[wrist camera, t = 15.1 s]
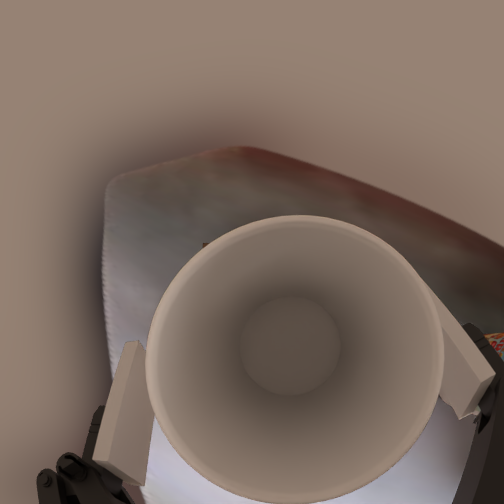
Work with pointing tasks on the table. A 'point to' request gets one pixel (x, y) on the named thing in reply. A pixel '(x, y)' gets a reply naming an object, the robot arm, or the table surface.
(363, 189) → the table surface
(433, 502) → the table surface
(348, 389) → the cup
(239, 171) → the table surface
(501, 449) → the robot arm
